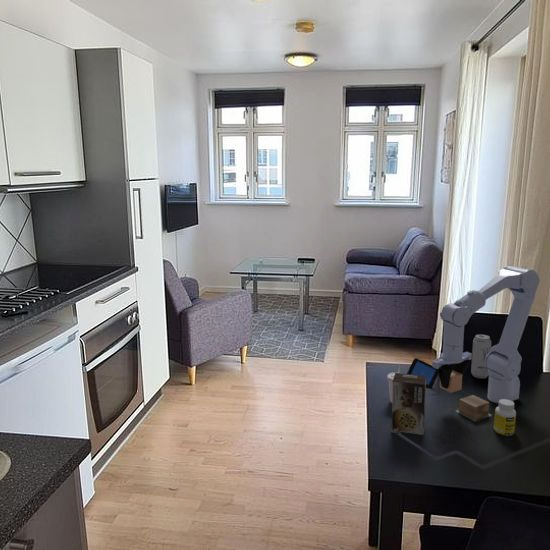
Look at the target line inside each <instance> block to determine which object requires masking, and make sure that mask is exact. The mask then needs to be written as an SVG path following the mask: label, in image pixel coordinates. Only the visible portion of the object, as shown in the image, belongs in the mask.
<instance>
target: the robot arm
mask: <svg viewBox="0 0 550 550" xmlns="http://www.w3.org/2000/svg"><path fill="white" fill-rule="evenodd" d="M540 281H541V279H540V277H539V274H538V273H537V271H535V270H533V269H526V268H523V267H520V266H519V267H518V266H515V265H511V264H506V265H505V266H503V268H501V269H499V270H498V272H497V275H496V276H495V277H493V278H492V279H491V280H490V281H489V282H488V283H486V284H484V286H482V287H481V288H480V289H479V290H475V289H473V290H468V291H467V292H466V294H465V295H463V296H462V297H460V298H459V299H457V300H456V301H455V302H453V303H448V304H445V305H444V306H443V307H442V309H441V312H440V313H439V317H440V319H441V321H442V326H443V335H442V336H443V337H442V338H443V340H442V352H441V353H440V356H439V357H438V358H437V359H434V360H432V361H431V362H432V363H431V365H432V367H434V368H436V370H437V372H438V377H439V382H440V381H441V386H442V387H444V388H446V389H447V388H448V387H449V381H450V376H451V373H452V371H453V370H454V371H456V372H458V373H461V374H462V379H463V377H464V375H465V373H466V371H467V370H468V368H469V367H470V363H469V362H467V360H468V361H472V352H469V351H465V352H463V351H464V339H465V337H464V333H465V326H466V325H467V324H468V322H469V320H470V318H471V317H472V315H473V314H475V313H476V312H478V311H479V310H481V309H483V308H484V307H485V306H486V303H487V302H486V301H487V300H488V299H490V298H492V297H493V296H495V295H497V294H498V293H500V292H502V291H503V290H506V289H508V290H509V291H511V295H513V299H512V304H511V306H510V309H509V312H508V316H507V317H506V321H505V325H504V327H503V330H502V333H501V336H500V339H499V341H498V343H497V344H495V345H493V346H491V349H490V352H489V353H488V354H487V356H486V357H485V361H484V364H485V367H486V368H487V369H488V373H489V375H488V384H487V400H489V401H490V402H493V403H496V404H499V400H501V399H507V400H511V401H513V402H514V401H516V400H519V399H520V396H519V395H520V387H521V381H520V378H519V376H518V375H520V373H521V367H522V366H521V364H522V360H523V359H522V356H521V354H520V353H519V351H518V347H519V344H520V341H521V338H522V336H523V333H524V331H525V327H526V323H527V321H528V318H529V315H530V312H531V309H532V306H533V304H534V300H535V297H536V292H537V290H538V287H539V285H540ZM449 365H451V367H452V368H450V366H449Z"/></svg>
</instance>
